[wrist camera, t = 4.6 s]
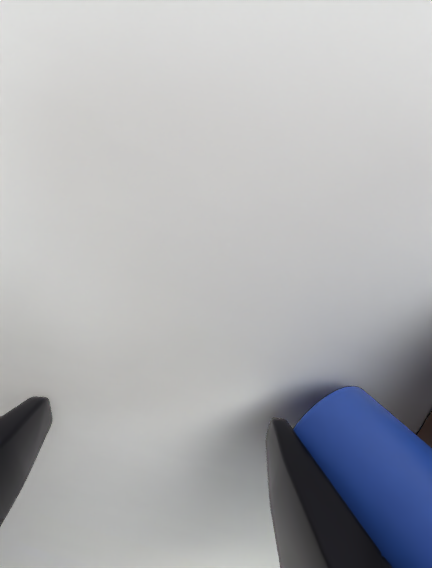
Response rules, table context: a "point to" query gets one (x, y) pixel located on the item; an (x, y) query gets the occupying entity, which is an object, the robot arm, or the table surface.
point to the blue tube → (375, 472)
